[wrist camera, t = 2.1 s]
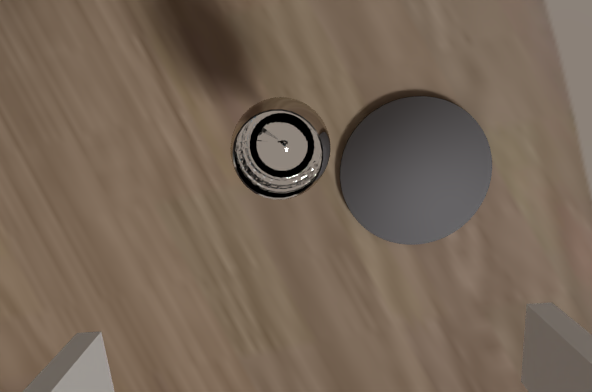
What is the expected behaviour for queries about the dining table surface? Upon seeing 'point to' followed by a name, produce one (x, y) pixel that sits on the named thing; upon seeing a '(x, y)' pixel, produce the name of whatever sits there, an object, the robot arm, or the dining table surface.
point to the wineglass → (280, 148)
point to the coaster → (415, 170)
